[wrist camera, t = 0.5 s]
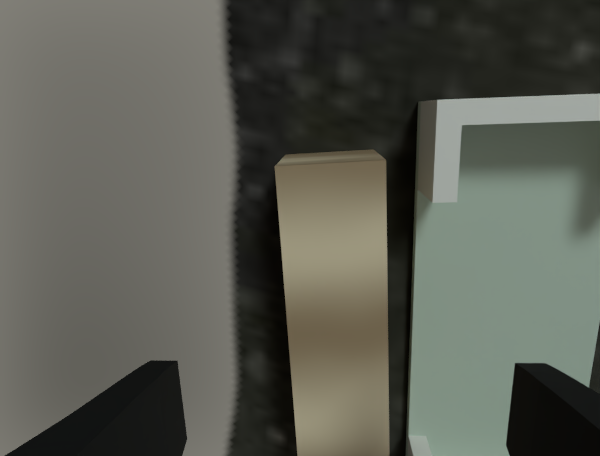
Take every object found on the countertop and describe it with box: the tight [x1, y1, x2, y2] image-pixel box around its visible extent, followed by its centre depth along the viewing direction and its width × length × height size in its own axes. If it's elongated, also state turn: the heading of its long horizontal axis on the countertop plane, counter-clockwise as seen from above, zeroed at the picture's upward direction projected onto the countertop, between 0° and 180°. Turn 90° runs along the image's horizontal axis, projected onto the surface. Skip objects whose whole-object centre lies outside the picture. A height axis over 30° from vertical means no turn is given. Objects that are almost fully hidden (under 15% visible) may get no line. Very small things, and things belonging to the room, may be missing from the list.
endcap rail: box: [406, 94, 600, 456], centre depth 15 cm, size 18×8×7 cm, turn 2°
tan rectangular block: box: [275, 150, 389, 456], centre depth 17 cm, size 12×4×4 cm, turn 4°
